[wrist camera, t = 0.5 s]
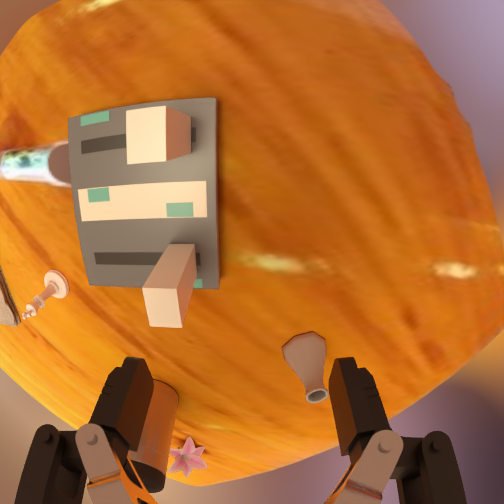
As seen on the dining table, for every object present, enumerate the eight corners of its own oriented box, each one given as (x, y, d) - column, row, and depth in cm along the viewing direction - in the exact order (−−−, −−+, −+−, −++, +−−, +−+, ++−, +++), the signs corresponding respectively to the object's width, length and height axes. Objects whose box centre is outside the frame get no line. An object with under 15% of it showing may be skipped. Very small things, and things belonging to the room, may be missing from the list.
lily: (208, 453, 58) (218, 473, 50) (170, 463, 54) (176, 485, 46) (195, 424, 57) (204, 445, 49) (154, 435, 53) (158, 457, 45)
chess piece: (42, 269, 35) (7, 301, 26) (63, 269, 35) (28, 303, 26) (51, 296, 37) (20, 330, 28) (72, 297, 37) (41, 334, 28)
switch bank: (218, 101, 28) (215, 97, 25) (220, 277, 37) (218, 289, 34) (80, 118, 27) (67, 118, 24) (98, 275, 36) (89, 285, 33)
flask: (294, 370, 44) (304, 416, 35) (273, 345, 42) (280, 394, 32) (332, 351, 43) (349, 396, 34) (315, 324, 40) (332, 371, 31)
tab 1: (191, 116, 26) (165, 105, 17) (191, 153, 27) (166, 161, 18) (163, 118, 26) (126, 110, 16) (163, 155, 27) (127, 164, 18)
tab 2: (194, 243, 31) (176, 288, 22) (197, 275, 33) (182, 327, 24) (169, 243, 31) (142, 287, 22) (172, 275, 33) (150, 326, 23)
